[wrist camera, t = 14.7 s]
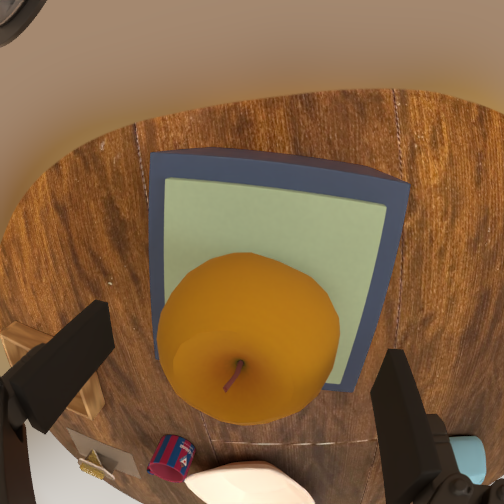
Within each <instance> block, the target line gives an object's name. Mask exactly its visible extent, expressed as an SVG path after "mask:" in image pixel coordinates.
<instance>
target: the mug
mask: <svg viewBox="0 0 504 504" xmlns="http://www.w3.org/2000/svg"><path fill="white" fill-rule="evenodd" d="M195 452H196V450H195V447H194V446H193V445H192V444H191V443H190V442H189V441H187V440H186V439H184V438H182V437H179V436H176V435H165V436H163V437H162V438H161V440H160V442H159V444H158V446H157V448H156V450H155V452H154V455H153V457H152V459H151V461H150V463H149V465H148V467H147V472H148V473H149V474H151V475H154V474H155V475H156V476H158V477H160V478H162V479H164V480H167V481H170V482H175V483H180V482H183V481H185V478H186V476H187V473H188V471H189V468H190V465H191V463H192V460H193V457H194V455H195Z"/></svg>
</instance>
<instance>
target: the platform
mask: <svg viewBox="0 0 504 504" xmlns="http://www.w3.org/2000/svg"><path fill="white" fill-rule="evenodd" d="M66 428H67V427H66ZM67 430H68V432H69V434H70V436H71V438H72V440H73V442H74V443H75V445H76V447H77V449H78V451H79V453H80V454H81V455H83V456H85V457H86V458H85V460H84V459H82V458H79V460H78V464H79V465H80V469H81V470H84V471H86V473H87V471H88V470H90V471H92V472H94V473H96V474H98V475H96V474H94V473H92V472H90V471H88V474H89V472H90V473H92V475H93V474H94V476H95V475H96V476H97V478H98V477H100V478H103V477H106V478H109V479H111V480H115V477H114V476H113V475H112V473H113V471H114V469H116V470H118V471H121V472H123V473H126V474H129V475H131V476H134V477H137V478H140V479H141V477H140V475H139V472H138V470H137V467H136V464H135V462H134V459H133V457H132V454H129V453H127V452H124V451H121V450H118V449H116V448H113V447H111V446H108V445H106V444H103V443H101V442H98V441H96V440H94V439H91V438H89V437H87V436H84V435H82V434H80V433H78V432H76V431H73V430H71V429H69V428H67ZM84 468H86V469H88V470H86V469H84ZM100 475H102V476H103V477H102V476H100ZM101 480H102V479H101Z"/></svg>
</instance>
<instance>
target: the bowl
mask: <svg viewBox="0 0 504 504" xmlns="http://www.w3.org/2000/svg"><path fill="white" fill-rule="evenodd" d="M185 483H186V484H187V486H188V488H189V489H191V490H192V491H193V492H194V493H195V494H196V495H197V496H198V497H199V498H201V499H202V500H203V501H204V502H206V503H207V504H315V502H314V500H313V499H312V497H311V495H310V494H309V493H308V492H307V491H306V490H305V489H304V488H303V487H302V486H300V485H299V484H298V483H296V482H295V481H294V480H293V479H291V478H290V477H289V476H288V475H286V474H285V473H284V472H282V471H281V470H280V469H278V468H277V467H275V466H274V465H272V464H271V463H268V462H266V461H242V462H234V463H230V464H226V465H223V466H219V467H216V468H213V469H209V470H206V471H202V472H199V473H195V474H191V475H190V476H188V477H186V478H185Z"/></svg>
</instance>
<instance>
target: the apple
mask: <svg viewBox="0 0 504 504" xmlns="http://www.w3.org/2000/svg"><path fill="white" fill-rule="evenodd" d="M339 338H340V323H339V316H338V314H337V312H336V311H335V309H334V306H333V304H332V302H331V300H330V298H329V296H328V293H327V292H326V291H325V290H324V289H323V288H322V287H321V286H320V285H319V284H318V283H317V282H316V281H315V280H314V279H313V278H312V277H310V276H309V275H307V274H305V273H303V272H301V271H299V270H296V269H294V268H292V267H290V266H288V265H286V264H284V263H282V262H279V261H277V260H274V259H271V258H267V257H264V256H261V255H258V254H255V253H252V252H241V253H230V254H227V255H223V256H219V257H215V258H212V259H209V260H208V261H206V262H204V263H203V264H201V265H200V266H198V267H197V268H195V269H193V270H192V271H190V272H189V273H187V275H186V276H185V277H184V278H183V279H182V281H181V282H180V283H179V284H178V285H177V287H176V288H175V289H174V290H173V292H172V293H171V295H170V297H169V298H168V300H167V302H166V304H165V306H164V308H163V310H162V311H161V314H160V319H159V324H158V331H157V346H158V353H159V360H160V363H161V366H162V368H163V371H164V373H165V375H166V377H167V379H168V380H169V382H170V384H171V386H172V388H173V389H174V391H175V393H176V394H177V395H178V396H179V397H180V398H182V399H183V400H184V401H185V402H186V403H188V404H189V405H190V406H192V407H194V408H196V409H198V410H200V411H201V412H203V413H205V414H207V415H209V416H211V417H213V418H215V419H217V420H219V421H222V422H226V423H231V424H237V425H242V426H245V425H256V424H265V423H269V422H272V421H275V420H278V419H281V418H283V417H286V416H289V415H291V414H294V413H297V412H299V411H301V410H302V409H303V408H304V407H305V406H306V405H308V404H309V403H310V402H311V401H312V400H313V399H314V398H315V397H316V396H318V394H319V392H320V391H321V389H322V387H323V386H324V384H325V382H326V380H327V379H328V377H329V375H330V373H331V371H332V369H333V366H334V362H335V357H336V353H337V349H338V344H339Z"/></svg>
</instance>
